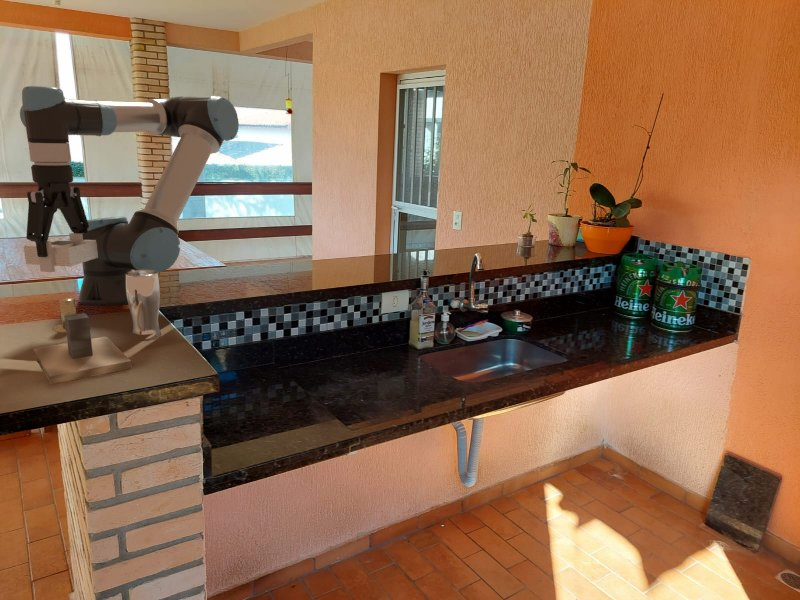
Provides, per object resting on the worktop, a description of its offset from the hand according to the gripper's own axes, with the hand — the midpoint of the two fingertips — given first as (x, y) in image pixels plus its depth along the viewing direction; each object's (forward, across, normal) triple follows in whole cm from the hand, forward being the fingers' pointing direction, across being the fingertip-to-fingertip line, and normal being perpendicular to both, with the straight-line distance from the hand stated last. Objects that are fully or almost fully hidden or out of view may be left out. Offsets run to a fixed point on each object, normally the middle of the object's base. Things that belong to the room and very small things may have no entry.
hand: (64, 266), depth 131 cm
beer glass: (+16, -1, +17) cm, 24 cm away
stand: (+16, 0, 0) cm, 16 cm away
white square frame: (-1, 0, 0) cm, 1 cm away
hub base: (+16, +16, +13) cm, 26 cm away
